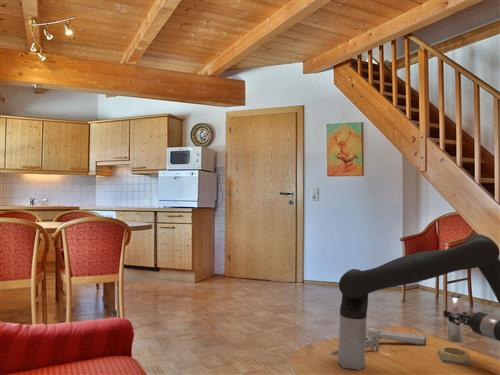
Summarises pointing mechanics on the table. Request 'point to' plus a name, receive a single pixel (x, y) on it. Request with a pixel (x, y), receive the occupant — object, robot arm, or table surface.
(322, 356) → the table surface
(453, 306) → the grey bottle
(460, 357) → the ring block
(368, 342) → the caliper
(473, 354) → the table surface
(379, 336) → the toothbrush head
